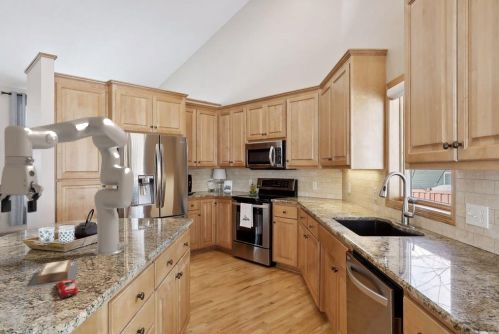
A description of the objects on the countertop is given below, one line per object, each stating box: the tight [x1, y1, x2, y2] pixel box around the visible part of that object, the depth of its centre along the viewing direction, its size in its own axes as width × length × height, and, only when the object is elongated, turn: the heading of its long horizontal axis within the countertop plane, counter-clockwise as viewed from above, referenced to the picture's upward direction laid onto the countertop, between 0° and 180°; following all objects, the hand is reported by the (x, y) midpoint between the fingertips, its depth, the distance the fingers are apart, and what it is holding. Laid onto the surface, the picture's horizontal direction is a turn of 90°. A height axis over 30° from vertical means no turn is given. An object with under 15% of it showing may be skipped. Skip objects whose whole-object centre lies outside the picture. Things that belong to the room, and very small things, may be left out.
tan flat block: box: [37, 259, 72, 285], centre depth 110 cm, size 9×15×3 cm, turn 28°
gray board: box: [27, 264, 79, 289], centre depth 110 cm, size 14×19×1 cm
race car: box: [55, 279, 79, 299], centre depth 97 cm, size 13×5×4 cm, turn 38°
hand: (19, 212), depth 98 cm, fingers open, 9 cm apart
